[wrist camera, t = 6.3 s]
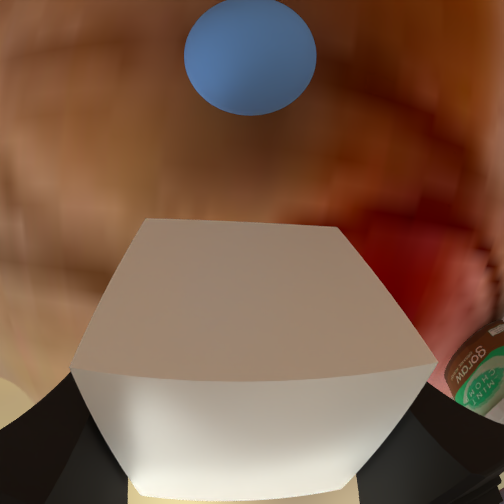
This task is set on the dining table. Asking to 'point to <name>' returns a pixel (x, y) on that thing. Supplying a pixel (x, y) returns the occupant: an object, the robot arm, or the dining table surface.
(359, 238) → the dining table surface
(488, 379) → the food container
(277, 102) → the ball
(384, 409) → the white cube block
